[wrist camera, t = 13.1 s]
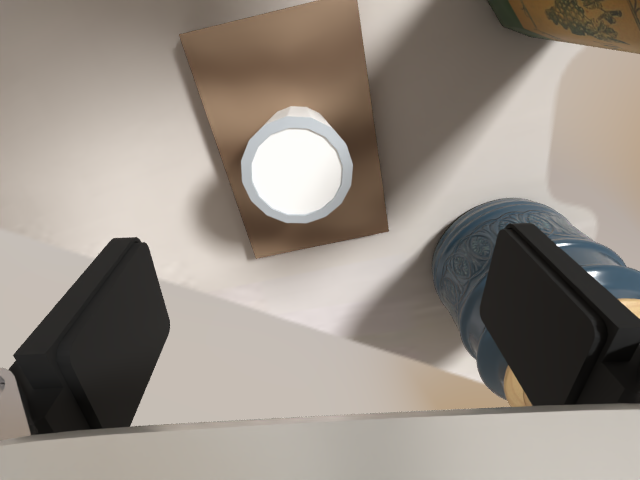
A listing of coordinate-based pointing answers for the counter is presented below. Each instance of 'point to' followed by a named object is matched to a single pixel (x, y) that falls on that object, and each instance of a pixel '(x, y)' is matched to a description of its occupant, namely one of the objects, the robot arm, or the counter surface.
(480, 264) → the canister
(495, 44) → the counter surface
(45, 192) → the counter surface
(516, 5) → the bottle
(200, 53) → the walnut board
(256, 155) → the shot glass
